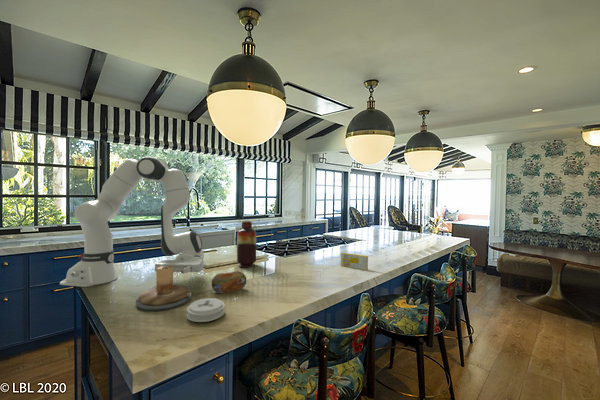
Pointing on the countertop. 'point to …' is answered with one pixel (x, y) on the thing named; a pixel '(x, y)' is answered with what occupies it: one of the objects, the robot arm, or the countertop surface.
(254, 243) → the brown bottle
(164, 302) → the turntable
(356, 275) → the countertop surface
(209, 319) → the lid
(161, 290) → the canister
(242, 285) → the tin
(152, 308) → the turntable base
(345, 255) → the candy box
